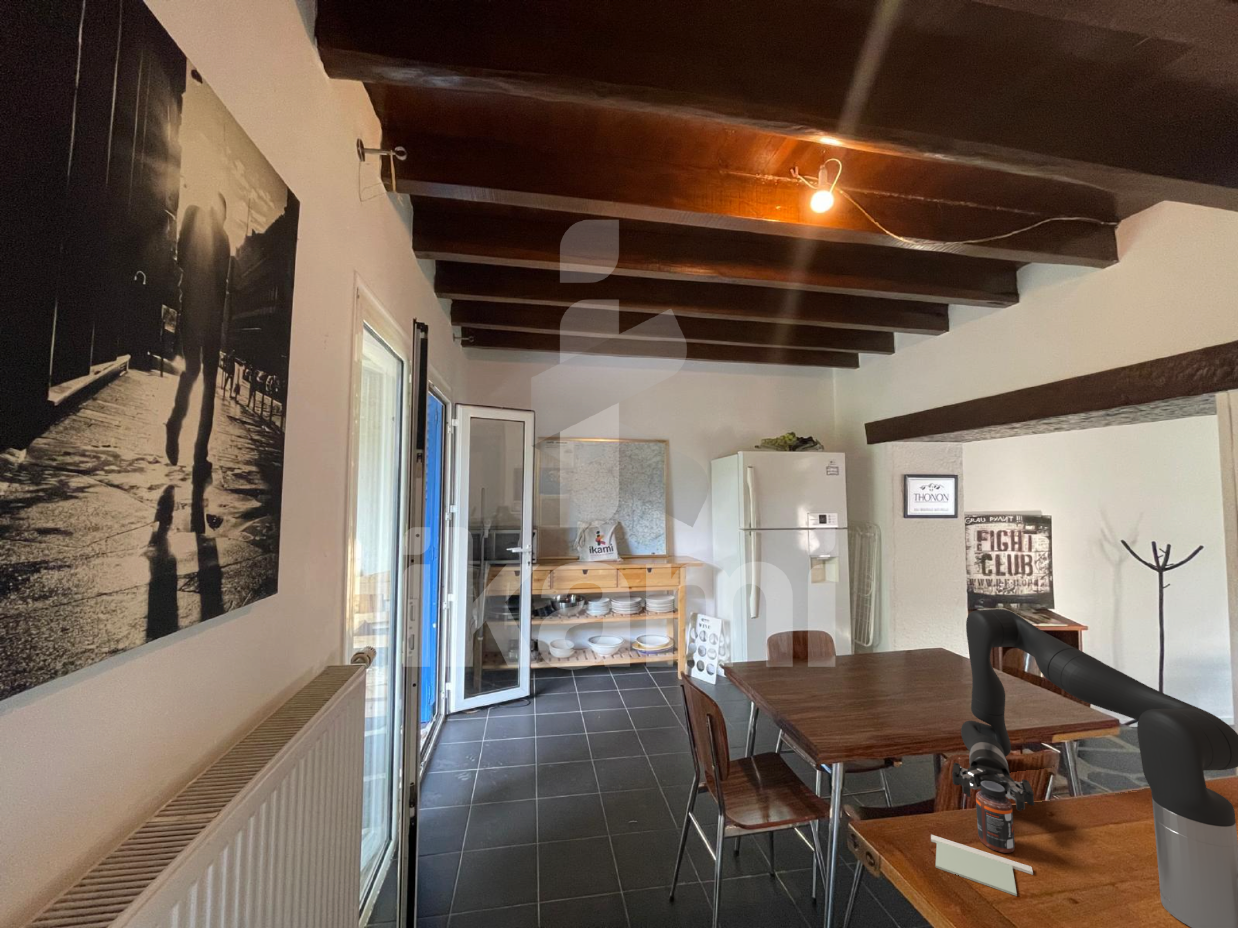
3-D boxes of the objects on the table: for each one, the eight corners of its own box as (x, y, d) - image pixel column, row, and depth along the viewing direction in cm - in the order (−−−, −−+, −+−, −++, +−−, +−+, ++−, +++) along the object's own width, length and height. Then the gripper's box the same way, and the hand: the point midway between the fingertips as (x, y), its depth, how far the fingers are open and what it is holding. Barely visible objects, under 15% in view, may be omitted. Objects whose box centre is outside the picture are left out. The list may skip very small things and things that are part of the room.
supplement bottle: (1022, 856, 95) (1018, 795, 96) (987, 852, 96) (984, 792, 97) (1004, 836, 101) (1001, 779, 102) (972, 832, 102) (969, 776, 103)
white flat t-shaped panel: (1031, 869, 92) (1031, 866, 92) (1039, 903, 84) (1039, 900, 84) (931, 836, 101) (931, 834, 101) (929, 865, 93) (929, 862, 93)
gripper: (951, 740, 121) (951, 769, 107) (1026, 757, 112) (1035, 791, 99) (953, 772, 120) (953, 805, 107) (1028, 791, 112) (1038, 830, 98)
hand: (993, 798), depth 103 cm, fingers open, 8 cm apart
